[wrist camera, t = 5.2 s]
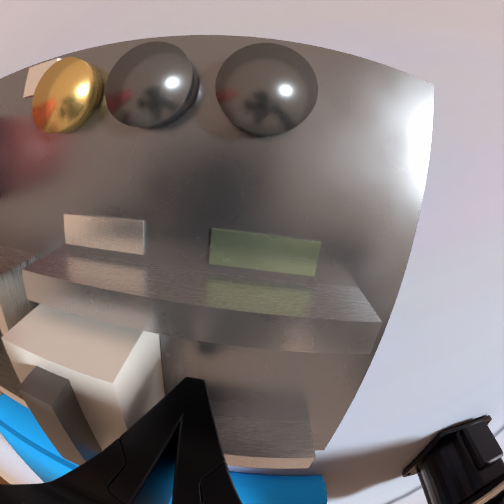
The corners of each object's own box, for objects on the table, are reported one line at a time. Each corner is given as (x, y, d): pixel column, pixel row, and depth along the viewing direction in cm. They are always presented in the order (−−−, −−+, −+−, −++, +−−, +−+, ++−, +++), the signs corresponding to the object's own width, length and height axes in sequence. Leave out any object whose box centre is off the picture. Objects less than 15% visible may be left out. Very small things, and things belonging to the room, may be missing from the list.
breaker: (165, 399, 10) (135, 490, 6) (83, 376, 10) (37, 448, 6) (157, 308, 8) (95, 414, 4) (60, 287, 8) (-19, 356, 4)
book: (270, 547, 16) (54, 495, 15) (270, 518, 20) (65, 470, 19) (332, 511, 11) (-17, 415, 10) (323, 462, 15) (7, 382, 14)
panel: (320, 432, 12) (330, 489, 9) (8, 359, 12) (-20, 391, 8) (415, 90, 7) (484, 70, 4) (-24, 99, 7) (-73, 100, 3)
